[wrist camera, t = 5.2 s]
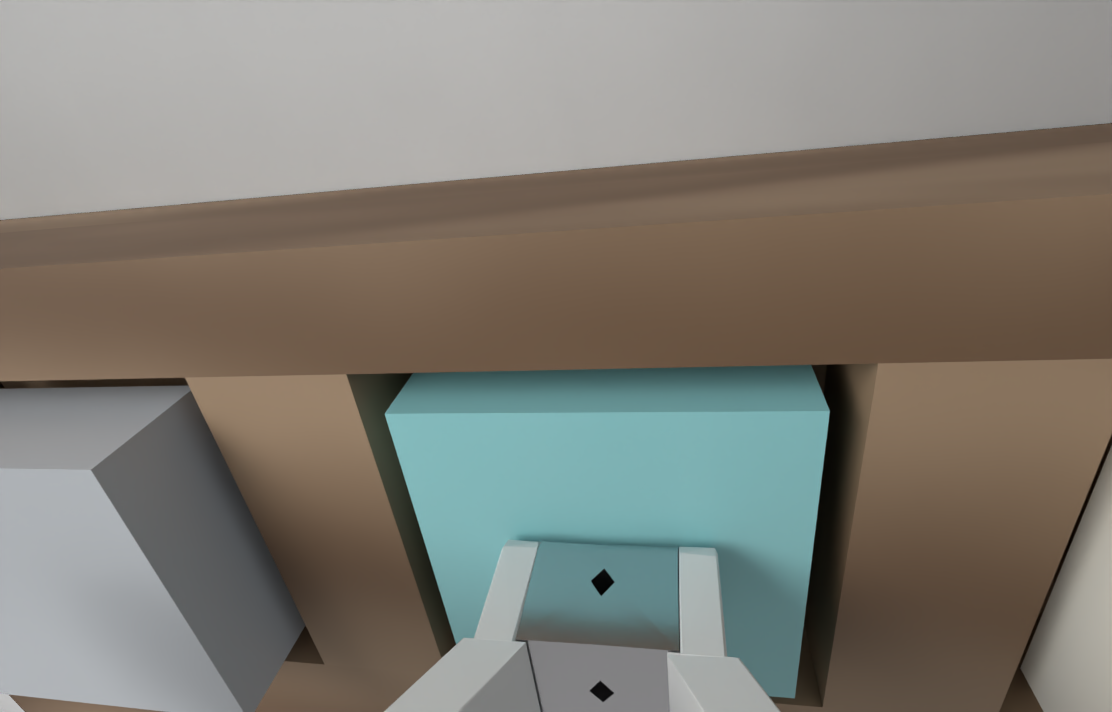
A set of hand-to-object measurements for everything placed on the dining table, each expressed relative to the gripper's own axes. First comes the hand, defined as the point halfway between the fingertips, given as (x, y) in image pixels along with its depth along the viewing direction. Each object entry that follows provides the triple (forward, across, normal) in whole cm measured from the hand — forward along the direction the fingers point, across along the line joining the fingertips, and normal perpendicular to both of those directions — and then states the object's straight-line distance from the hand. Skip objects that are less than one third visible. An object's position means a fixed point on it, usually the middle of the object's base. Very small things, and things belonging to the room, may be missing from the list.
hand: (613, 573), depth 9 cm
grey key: (+1, +9, 0) cm, 9 cm away
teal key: (+2, 0, 0) cm, 2 cm away
